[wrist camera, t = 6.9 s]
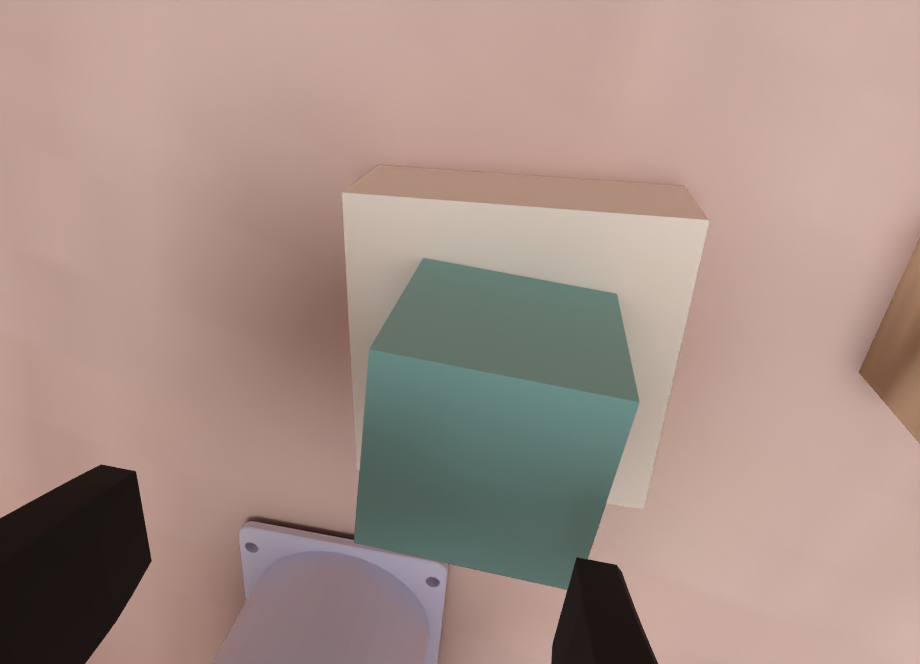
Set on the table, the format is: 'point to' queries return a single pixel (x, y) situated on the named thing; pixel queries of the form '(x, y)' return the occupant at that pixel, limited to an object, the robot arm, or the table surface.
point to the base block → (534, 266)
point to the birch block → (899, 351)
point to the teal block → (494, 422)
